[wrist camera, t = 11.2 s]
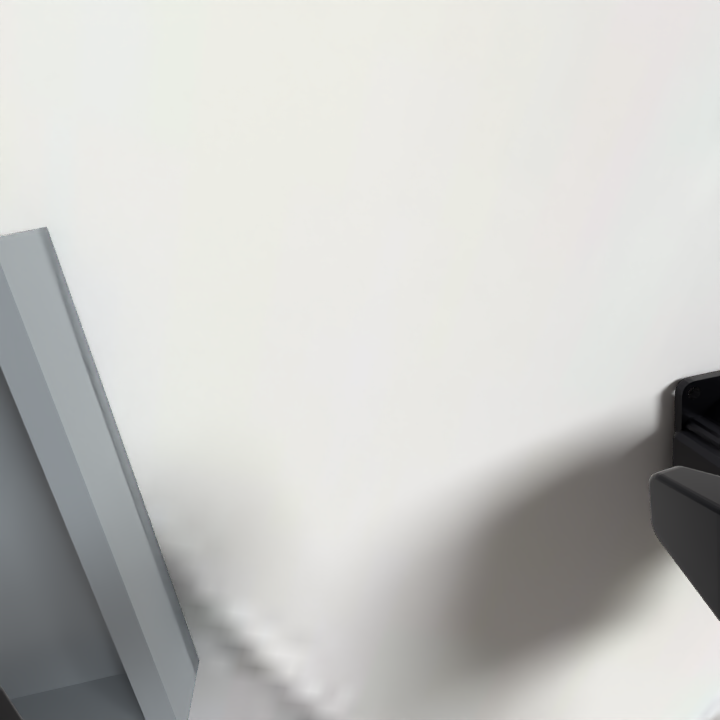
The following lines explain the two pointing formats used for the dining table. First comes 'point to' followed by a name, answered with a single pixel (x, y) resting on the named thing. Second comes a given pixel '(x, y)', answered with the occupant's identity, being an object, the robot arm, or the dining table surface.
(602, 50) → the dining table surface
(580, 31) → the dining table surface
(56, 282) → the grey bin
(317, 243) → the dining table surface
